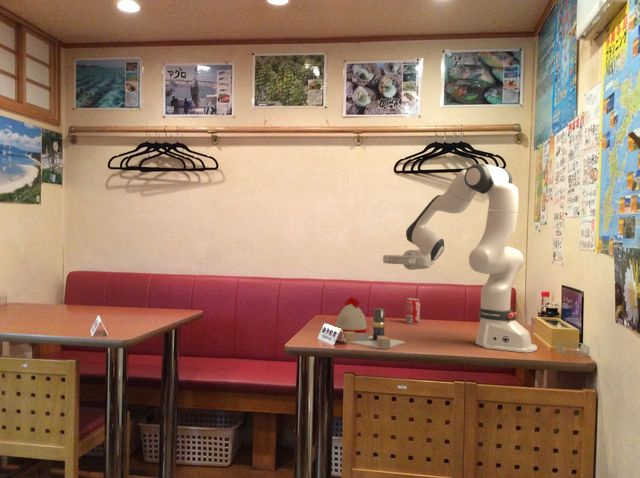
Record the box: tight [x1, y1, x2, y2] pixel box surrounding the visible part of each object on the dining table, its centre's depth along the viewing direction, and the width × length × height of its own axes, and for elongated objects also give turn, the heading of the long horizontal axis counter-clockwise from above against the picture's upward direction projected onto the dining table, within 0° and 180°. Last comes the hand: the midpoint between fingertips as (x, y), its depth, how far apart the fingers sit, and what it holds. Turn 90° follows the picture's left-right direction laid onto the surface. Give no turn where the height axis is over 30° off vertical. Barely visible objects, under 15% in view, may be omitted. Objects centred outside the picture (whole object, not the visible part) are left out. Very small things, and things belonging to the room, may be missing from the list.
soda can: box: [404, 297, 421, 325], centre depth 246 cm, size 7×7×12 cm
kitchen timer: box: [335, 296, 368, 333], centre depth 221 cm, size 14×14×15 cm
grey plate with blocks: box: [343, 331, 405, 350], centre depth 197 cm, size 24×17×4 cm
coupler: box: [372, 307, 386, 340], centre depth 199 cm, size 5×5×12 cm
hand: (397, 260), depth 210 cm, fingers open, 8 cm apart
